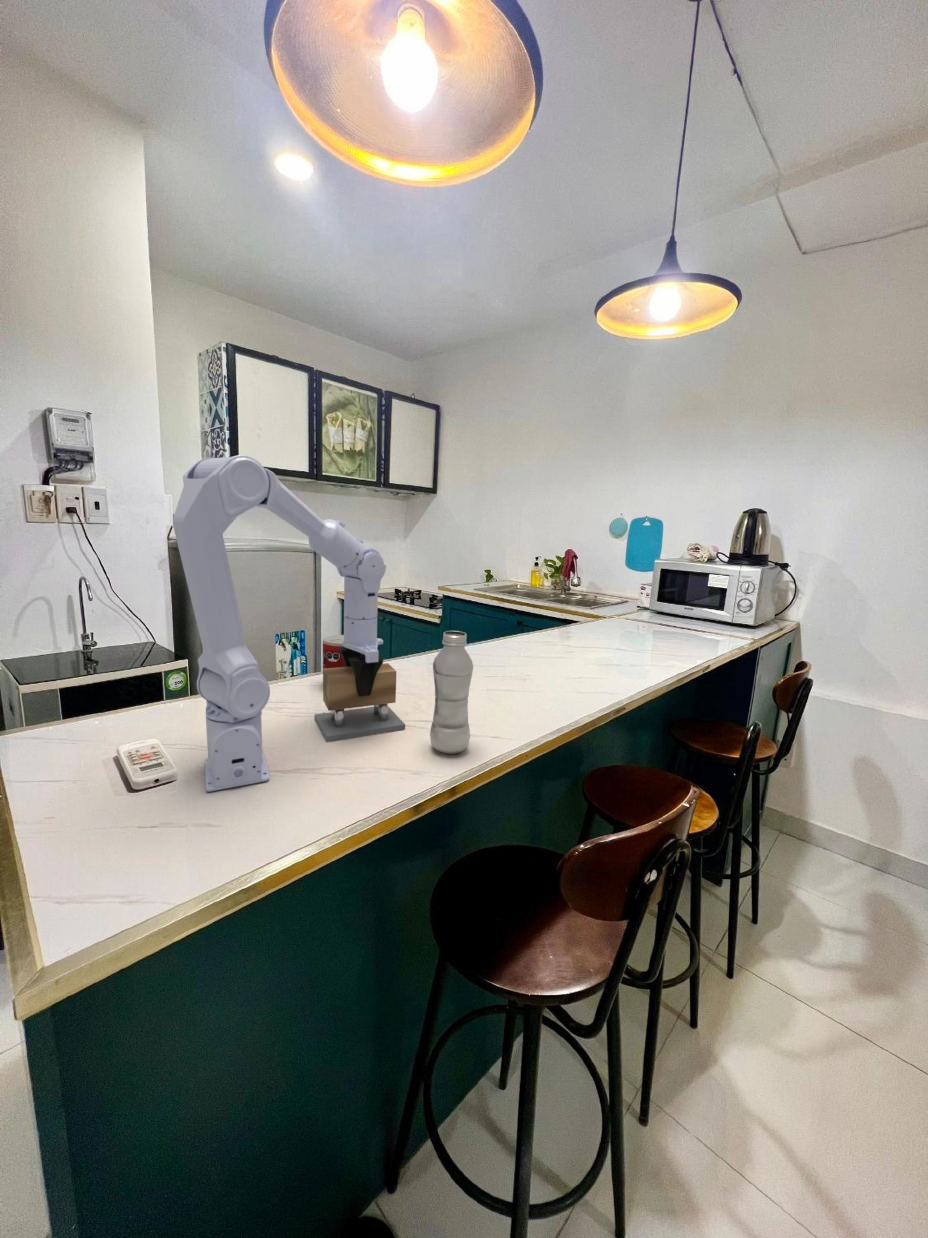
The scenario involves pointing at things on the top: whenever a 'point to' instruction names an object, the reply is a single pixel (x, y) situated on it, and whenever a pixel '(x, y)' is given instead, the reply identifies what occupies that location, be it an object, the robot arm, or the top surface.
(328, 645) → the canned food
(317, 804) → the top surface
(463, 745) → the plastic bottle
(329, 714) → the peg stand
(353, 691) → the shelf block
